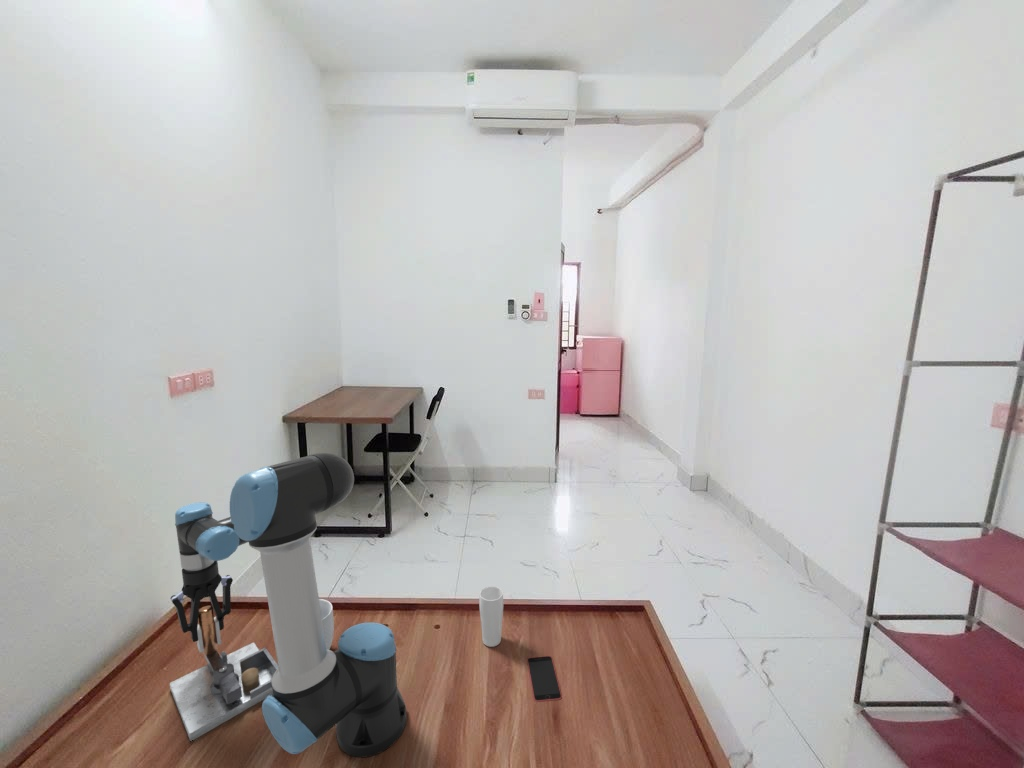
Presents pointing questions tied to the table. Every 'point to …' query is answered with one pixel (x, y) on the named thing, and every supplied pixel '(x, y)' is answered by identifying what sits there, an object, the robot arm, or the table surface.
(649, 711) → the table surface
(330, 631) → the mug
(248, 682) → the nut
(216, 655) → the lever
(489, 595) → the white tall cup
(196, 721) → the grey flat slab fixture
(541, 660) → the smartphone
